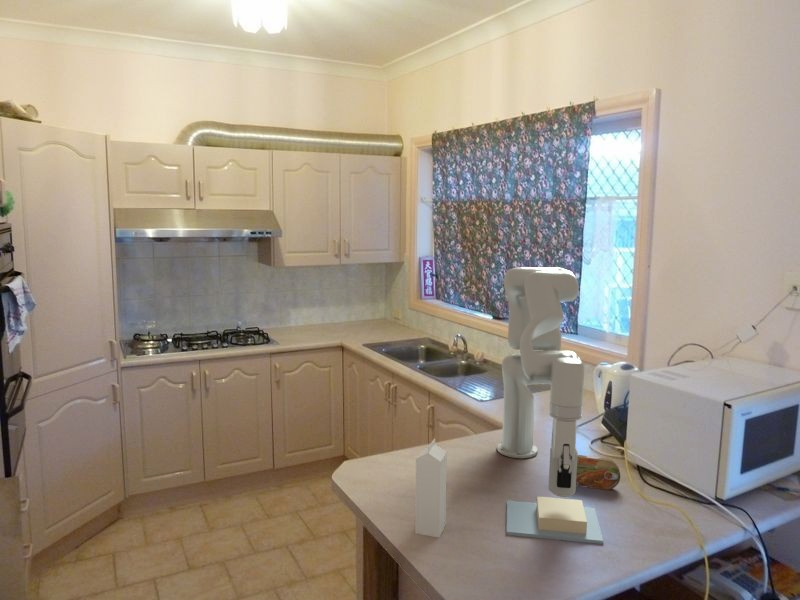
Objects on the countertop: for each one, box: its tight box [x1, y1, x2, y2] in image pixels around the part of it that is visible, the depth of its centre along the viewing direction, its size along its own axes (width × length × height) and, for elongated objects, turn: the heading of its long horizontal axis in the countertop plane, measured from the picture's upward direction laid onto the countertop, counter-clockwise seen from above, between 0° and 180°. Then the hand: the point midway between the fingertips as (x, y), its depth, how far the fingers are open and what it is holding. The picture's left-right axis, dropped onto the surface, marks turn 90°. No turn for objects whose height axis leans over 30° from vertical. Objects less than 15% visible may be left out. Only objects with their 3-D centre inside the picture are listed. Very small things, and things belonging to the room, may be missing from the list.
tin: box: [576, 454, 621, 491], centre depth 172 cm, size 15×3×8 cm, turn 70°
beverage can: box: [548, 445, 579, 498], centre depth 150 cm, size 6×6×12 cm
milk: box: [414, 437, 448, 539], centre depth 147 cm, size 6×6×22 cm
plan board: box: [506, 496, 604, 545], centre depth 152 cm, size 16×22×4 cm
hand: (562, 480), depth 150 cm, fingers closed on beverage can, 6 cm apart
